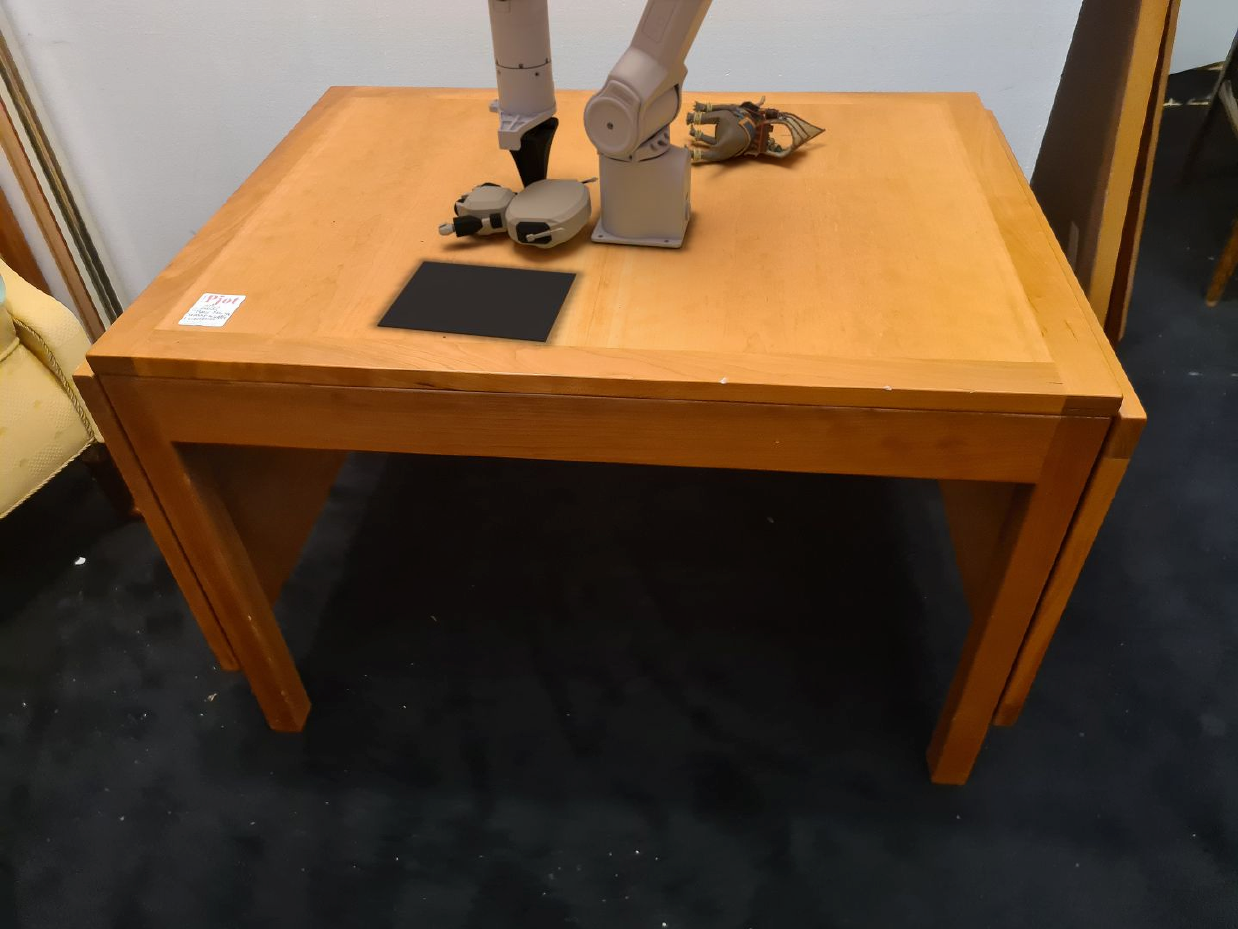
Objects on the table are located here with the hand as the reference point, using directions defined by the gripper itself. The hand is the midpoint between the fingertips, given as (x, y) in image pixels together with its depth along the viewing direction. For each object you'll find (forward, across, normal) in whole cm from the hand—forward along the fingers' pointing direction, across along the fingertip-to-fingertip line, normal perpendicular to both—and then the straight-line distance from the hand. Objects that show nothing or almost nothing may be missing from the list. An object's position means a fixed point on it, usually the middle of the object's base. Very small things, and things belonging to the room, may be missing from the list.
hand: (534, 188), depth 97 cm
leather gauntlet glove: (+2, -18, +23) cm, 29 cm away
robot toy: (+2, +7, 0) cm, 7 cm away
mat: (+2, +20, 0) cm, 20 cm away
